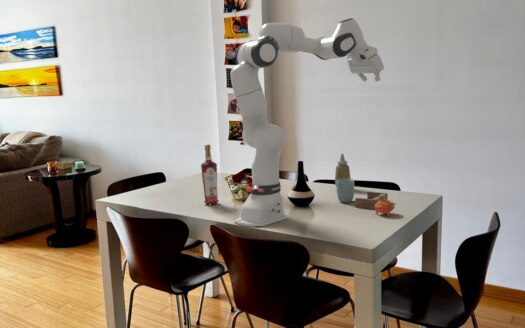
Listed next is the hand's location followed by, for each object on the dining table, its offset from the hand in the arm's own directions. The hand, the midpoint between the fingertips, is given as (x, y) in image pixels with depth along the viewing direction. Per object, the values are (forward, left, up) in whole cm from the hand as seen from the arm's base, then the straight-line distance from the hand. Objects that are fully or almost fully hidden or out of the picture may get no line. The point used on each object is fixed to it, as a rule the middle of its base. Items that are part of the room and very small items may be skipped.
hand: (371, 80), depth 222 cm
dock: (-14, -6, -54) cm, 56 cm away
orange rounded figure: (-26, -16, -54) cm, 62 cm away
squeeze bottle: (+8, +19, -54) cm, 58 cm away
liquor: (-43, +62, -54) cm, 93 cm away
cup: (-14, +7, -54) cm, 56 cm away
